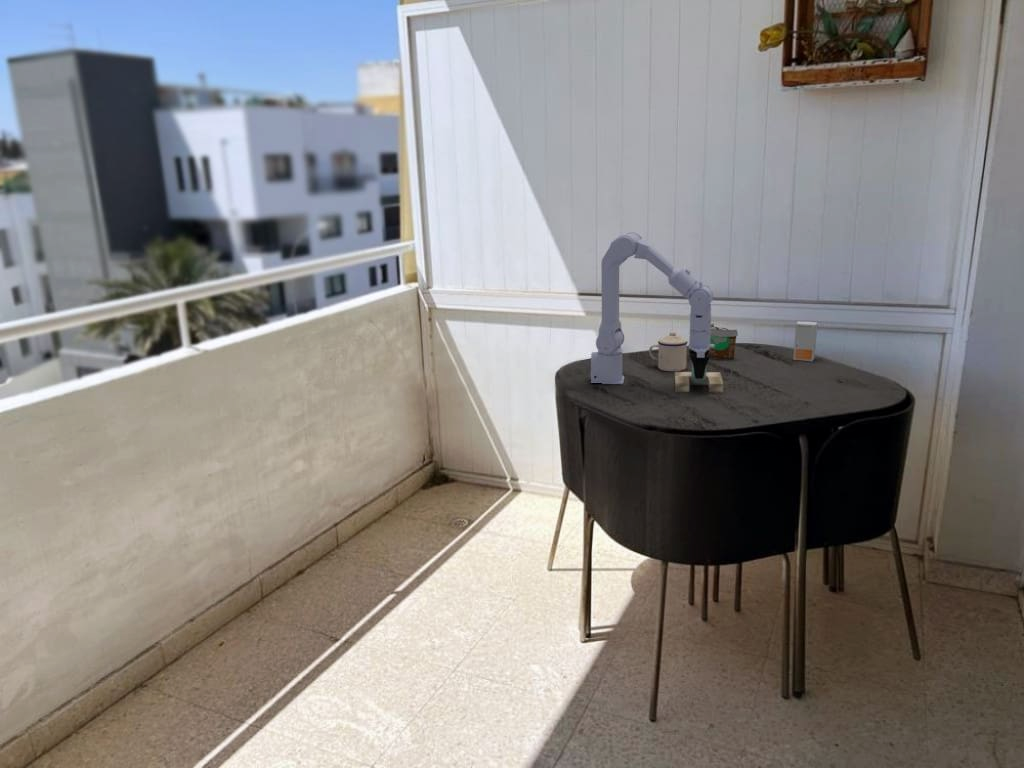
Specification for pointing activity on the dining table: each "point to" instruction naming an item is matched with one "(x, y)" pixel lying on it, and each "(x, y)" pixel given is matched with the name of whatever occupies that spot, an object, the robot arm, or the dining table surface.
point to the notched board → (712, 381)
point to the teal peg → (698, 379)
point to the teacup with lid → (671, 352)
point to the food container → (722, 343)
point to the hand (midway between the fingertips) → (698, 376)
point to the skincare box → (805, 341)
